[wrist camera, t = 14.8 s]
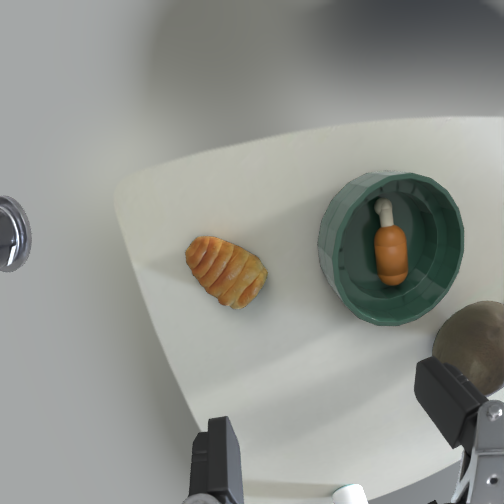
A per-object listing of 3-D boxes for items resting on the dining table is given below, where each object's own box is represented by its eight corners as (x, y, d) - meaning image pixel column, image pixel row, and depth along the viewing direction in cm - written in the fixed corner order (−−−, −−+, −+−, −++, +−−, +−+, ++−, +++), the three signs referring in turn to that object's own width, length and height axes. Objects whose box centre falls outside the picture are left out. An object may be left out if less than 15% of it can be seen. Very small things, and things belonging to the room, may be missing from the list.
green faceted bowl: (292, 274, 38) (303, 295, 31) (356, 145, 34) (379, 142, 28) (396, 319, 40) (418, 342, 34) (453, 211, 37) (482, 220, 30)
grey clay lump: (471, 352, 44) (518, 399, 29) (408, 370, 43) (453, 430, 29) (489, 279, 40) (551, 317, 26) (424, 289, 39) (489, 340, 25)
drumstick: (363, 199, 35) (376, 204, 31) (392, 193, 35) (407, 197, 31) (373, 282, 38) (385, 294, 34) (400, 274, 38) (414, 286, 34)
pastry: (175, 264, 37) (169, 274, 33) (208, 218, 35) (205, 225, 32) (238, 308, 39) (239, 322, 35) (273, 266, 37) (277, 277, 34)
